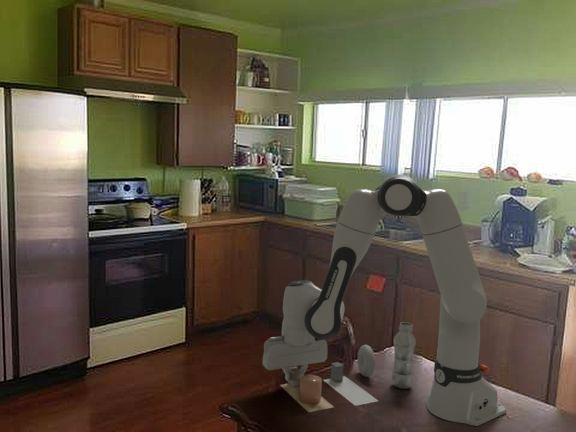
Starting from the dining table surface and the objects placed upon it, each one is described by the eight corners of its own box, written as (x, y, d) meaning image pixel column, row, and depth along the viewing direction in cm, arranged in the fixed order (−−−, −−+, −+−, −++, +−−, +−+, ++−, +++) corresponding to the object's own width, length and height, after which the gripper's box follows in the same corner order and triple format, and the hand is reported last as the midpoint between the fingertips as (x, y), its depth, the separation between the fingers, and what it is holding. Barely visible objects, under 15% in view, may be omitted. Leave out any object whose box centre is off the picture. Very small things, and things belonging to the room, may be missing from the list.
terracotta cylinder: (314, 393, 159) (315, 373, 158) (324, 402, 153) (325, 381, 153) (295, 396, 156) (296, 376, 155) (305, 405, 151) (307, 385, 150)
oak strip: (303, 384, 167) (304, 365, 166) (333, 410, 151) (335, 389, 150) (279, 388, 163) (280, 369, 163) (308, 415, 147) (309, 394, 147)
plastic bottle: (412, 392, 165) (417, 328, 163) (390, 389, 166) (394, 326, 164) (412, 383, 171) (417, 322, 169) (390, 381, 173) (395, 319, 170)
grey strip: (344, 379, 172) (345, 360, 171) (378, 404, 156) (379, 384, 155) (322, 383, 168) (323, 364, 168) (354, 409, 152) (356, 388, 152)
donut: (375, 382, 171) (377, 351, 170) (364, 382, 171) (366, 351, 169) (365, 369, 181) (367, 340, 180) (355, 369, 180) (357, 340, 179)
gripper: (269, 342, 154) (267, 388, 156) (331, 333, 163) (328, 378, 165) (260, 334, 160) (258, 380, 162) (320, 327, 169) (318, 370, 171)
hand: (294, 378), depth 163 cm, fingers closed on oak strip, 2 cm apart
